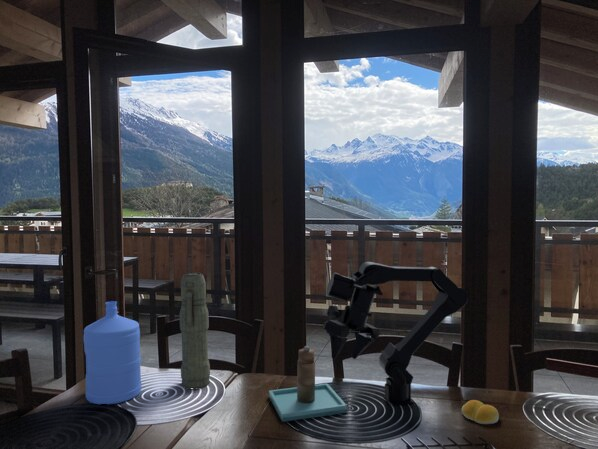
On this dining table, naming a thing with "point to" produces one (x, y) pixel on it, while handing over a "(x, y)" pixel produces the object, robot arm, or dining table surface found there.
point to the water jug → (112, 358)
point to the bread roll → (480, 412)
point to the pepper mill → (306, 376)
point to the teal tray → (294, 410)
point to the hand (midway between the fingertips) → (343, 358)
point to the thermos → (194, 332)
